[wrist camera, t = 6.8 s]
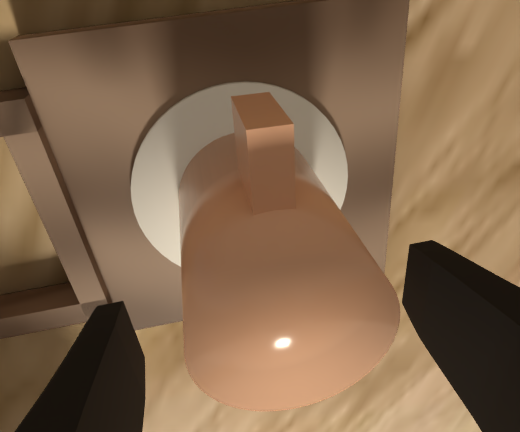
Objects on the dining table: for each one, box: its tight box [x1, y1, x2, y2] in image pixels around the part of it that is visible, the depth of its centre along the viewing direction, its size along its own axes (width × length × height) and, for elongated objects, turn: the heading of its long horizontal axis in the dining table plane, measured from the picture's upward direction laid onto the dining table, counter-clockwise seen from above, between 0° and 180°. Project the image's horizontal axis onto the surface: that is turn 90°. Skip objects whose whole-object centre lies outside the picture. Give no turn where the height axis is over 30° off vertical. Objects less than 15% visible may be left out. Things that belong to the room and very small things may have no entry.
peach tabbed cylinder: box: [178, 92, 400, 411], centre depth 12 cm, size 5×7×7 cm
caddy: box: [0, 0, 409, 339], centre depth 15 cm, size 12×21×2 cm, turn 95°
